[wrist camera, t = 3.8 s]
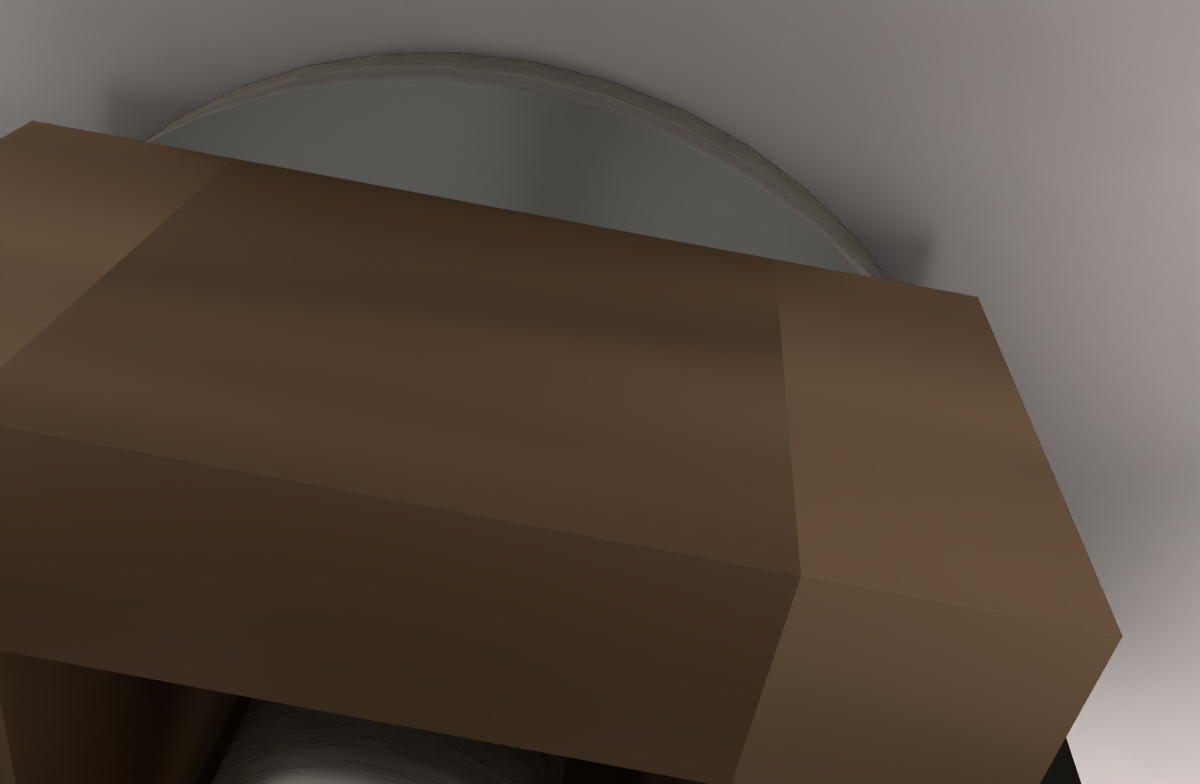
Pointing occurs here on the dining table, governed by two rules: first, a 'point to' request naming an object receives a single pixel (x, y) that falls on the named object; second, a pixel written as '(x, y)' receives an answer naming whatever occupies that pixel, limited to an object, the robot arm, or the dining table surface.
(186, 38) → the dining table surface
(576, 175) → the peg on round base
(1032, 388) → the dining table surface
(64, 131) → the wooden square frame
